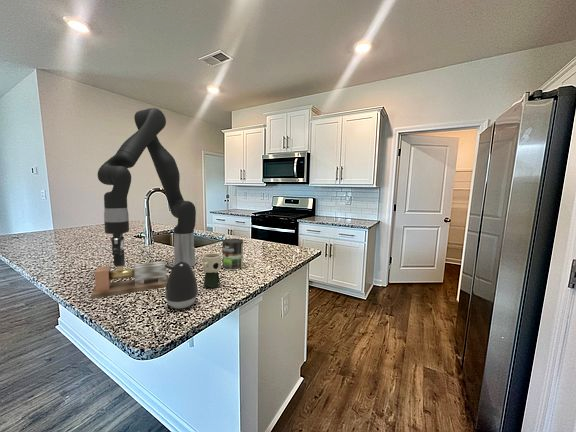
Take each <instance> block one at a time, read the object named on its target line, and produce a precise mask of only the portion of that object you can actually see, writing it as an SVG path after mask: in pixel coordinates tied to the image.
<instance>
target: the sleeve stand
mask: <svg viewBox="0 0 576 432" xmlns="http://www.w3.org/2000/svg"><path fill="white" fill-rule="evenodd" d="M166 264H167V263H166V261H165V260H164V261H156V262H147V263H138V264H134V267H133V269H134V274H135V277H134V279H128V280H122V281H116V282H115V281H114V282H111V286H110V290H107V291H100V292H96V288H95V287H94V288H93V290H92V291H91V294H90V295H91V298H90V299H91V300H93V299H94V300H95V299H100V298H106V297H110V296H111V297H112V296H118V295H124V294H130V293H131V294H132V293H137V292H143V291H149V290H155V289H162V288H166V285H167V281H168V277H169V275H168V274H167V268H166V267H165V265H166Z"/></svg>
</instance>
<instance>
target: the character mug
mask: <svg viewBox="0 0 576 432" xmlns="http://www.w3.org/2000/svg"><path fill="white" fill-rule="evenodd" d="M221 262H222V255H221V254H220V253H218V252H209V253H205V254H202V271H203V272H205V274H204V280H203V286H204V287H206V288H211V289H212V288H217V287H219V285H221V283H220V275H219V272H220V271H221V269H222V266H221Z"/></svg>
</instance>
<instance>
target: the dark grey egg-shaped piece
mask: <svg viewBox="0 0 576 432" xmlns="http://www.w3.org/2000/svg"><path fill="white" fill-rule="evenodd" d="M165 267H166V269H168V270H170V273H169V275H168V281H167V285H166V287H165V295H164V297H165V299H166V301H167V304H168V305H169V306H170V307H171V308H173V309H177V310H179V309H180V310H181V308H182V309H185V308H188V307H190V306H192V305H193V304H194V303H195V301H196V299H197V296H198V294H199V288H198V283H197V282H198V281H197V278H196V275H195V272H194V270H193V268H192V267H190V265H189V264H188V263H186V262H178V263H176V264H174V265H171V264H168V263H166V265H165Z"/></svg>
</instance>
